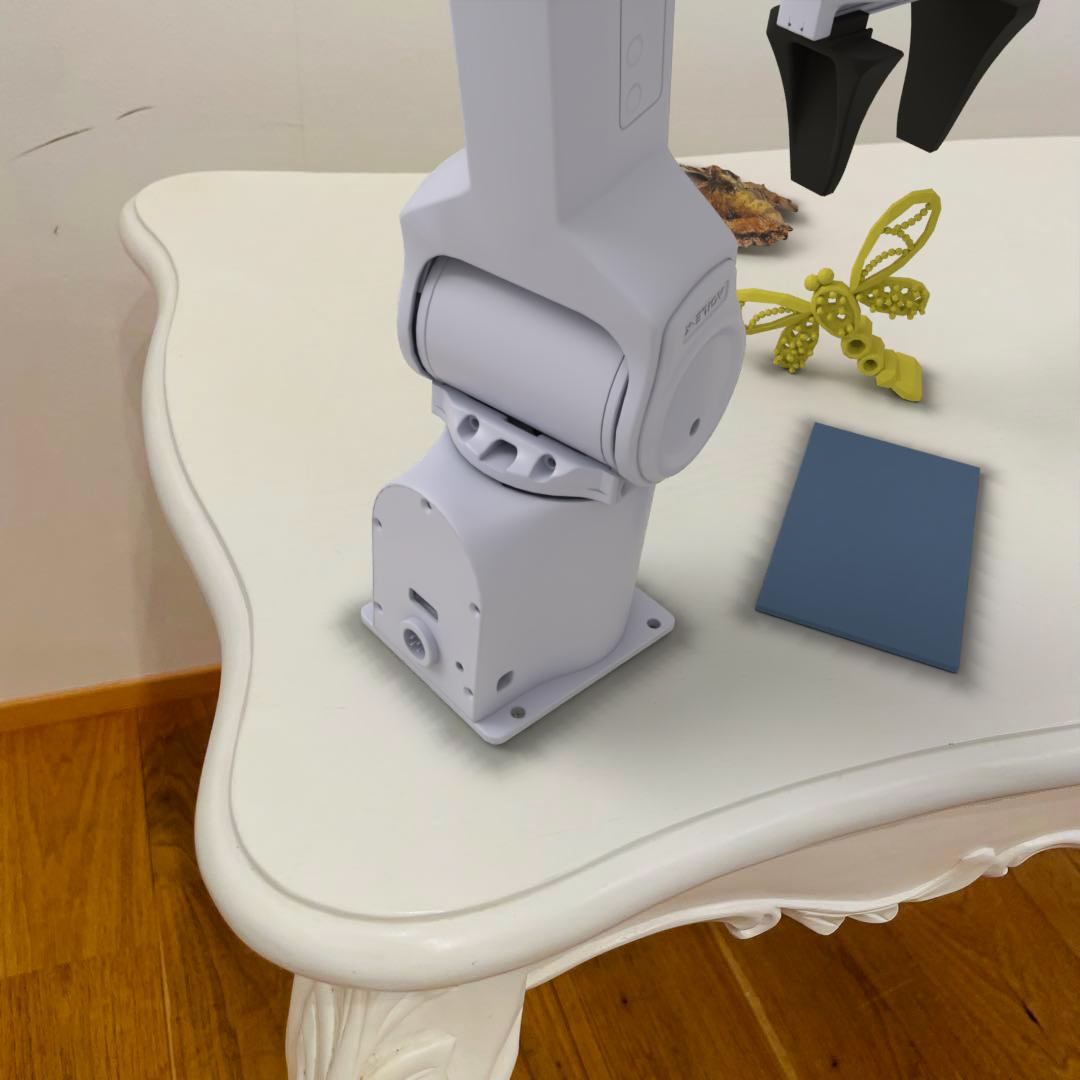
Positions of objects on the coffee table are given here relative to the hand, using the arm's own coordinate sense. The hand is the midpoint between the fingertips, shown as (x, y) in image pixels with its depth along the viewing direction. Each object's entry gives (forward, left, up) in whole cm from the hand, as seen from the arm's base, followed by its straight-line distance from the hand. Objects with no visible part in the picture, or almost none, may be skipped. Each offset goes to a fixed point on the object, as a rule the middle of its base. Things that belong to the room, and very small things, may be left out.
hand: (865, 164), depth 51 cm
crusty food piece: (+10, +14, -11) cm, 21 cm away
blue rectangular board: (-9, -10, -11) cm, 17 cm away
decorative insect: (0, 0, -11) cm, 11 cm away
